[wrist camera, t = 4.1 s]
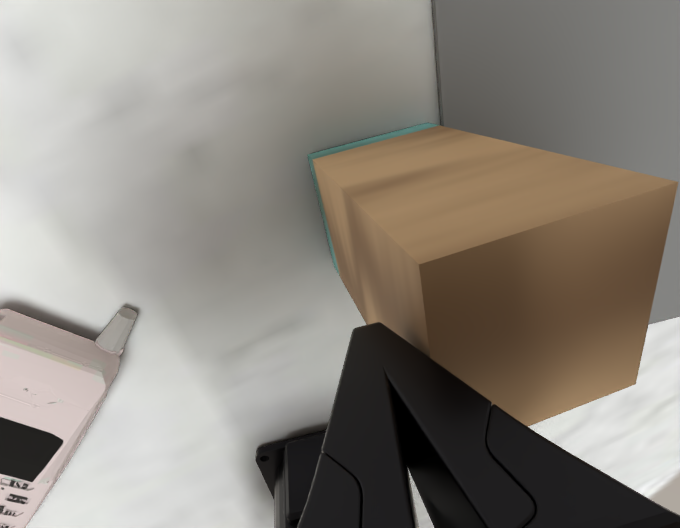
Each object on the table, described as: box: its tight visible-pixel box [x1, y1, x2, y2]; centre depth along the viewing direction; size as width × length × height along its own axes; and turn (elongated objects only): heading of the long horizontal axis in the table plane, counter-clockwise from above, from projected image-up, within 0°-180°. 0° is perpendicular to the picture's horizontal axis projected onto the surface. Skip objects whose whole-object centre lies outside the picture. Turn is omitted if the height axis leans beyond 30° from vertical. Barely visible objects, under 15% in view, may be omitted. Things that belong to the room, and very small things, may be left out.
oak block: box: [308, 123, 678, 427], centre depth 12 cm, size 5×5×10 cm
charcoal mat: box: [432, 0, 680, 325], centre depth 17 cm, size 20×13×1 cm, turn 11°
